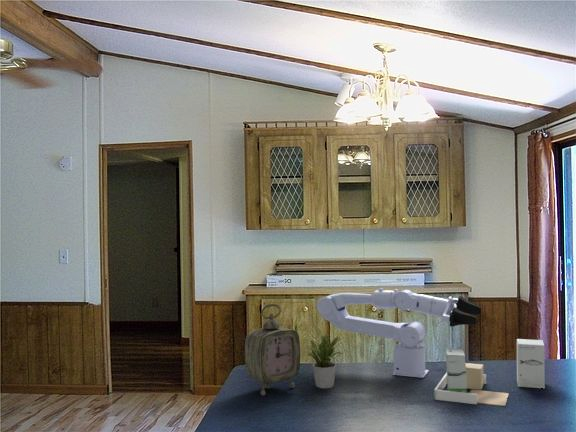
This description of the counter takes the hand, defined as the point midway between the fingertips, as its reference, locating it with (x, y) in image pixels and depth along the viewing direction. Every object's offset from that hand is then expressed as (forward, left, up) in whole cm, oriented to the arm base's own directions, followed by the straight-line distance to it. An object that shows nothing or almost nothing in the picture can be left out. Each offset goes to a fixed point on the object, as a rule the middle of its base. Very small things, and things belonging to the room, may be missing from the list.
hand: (478, 315), depth 181 cm
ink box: (-4, -16, -20) cm, 25 cm away
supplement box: (+14, +1, -20) cm, 24 cm away
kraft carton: (-1, -6, -20) cm, 21 cm away
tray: (-4, -12, -19) cm, 23 cm away
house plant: (-40, -22, -20) cm, 49 cm away
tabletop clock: (-54, -31, -20) cm, 65 cm away
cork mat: (+4, -16, -19) cm, 25 cm away
